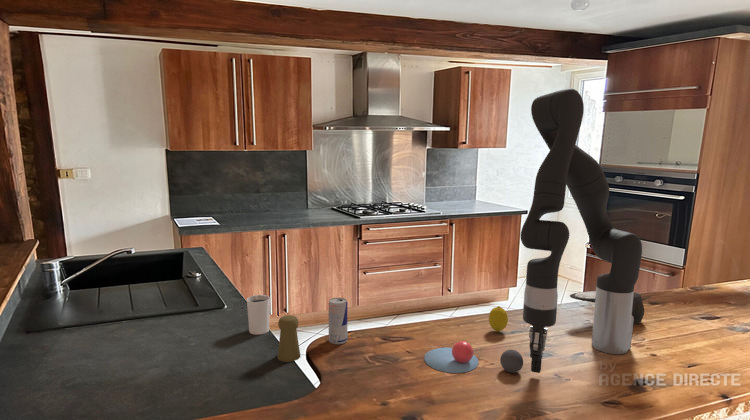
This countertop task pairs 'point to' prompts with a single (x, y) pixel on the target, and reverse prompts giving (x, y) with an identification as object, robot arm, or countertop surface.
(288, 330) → the cork
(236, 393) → the countertop surface
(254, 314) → the white cup
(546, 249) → the robot arm
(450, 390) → the countertop surface
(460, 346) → the red ball
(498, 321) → the lemon
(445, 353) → the blue mark
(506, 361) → the gray ball
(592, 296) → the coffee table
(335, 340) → the energy drink
